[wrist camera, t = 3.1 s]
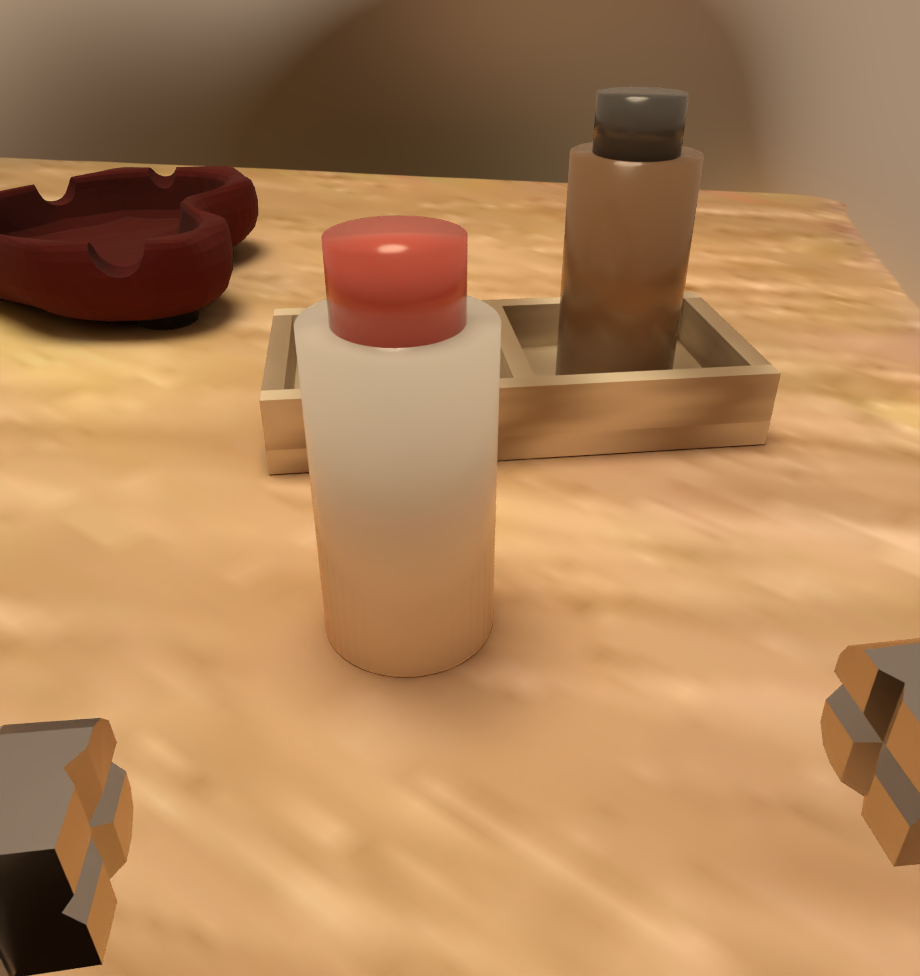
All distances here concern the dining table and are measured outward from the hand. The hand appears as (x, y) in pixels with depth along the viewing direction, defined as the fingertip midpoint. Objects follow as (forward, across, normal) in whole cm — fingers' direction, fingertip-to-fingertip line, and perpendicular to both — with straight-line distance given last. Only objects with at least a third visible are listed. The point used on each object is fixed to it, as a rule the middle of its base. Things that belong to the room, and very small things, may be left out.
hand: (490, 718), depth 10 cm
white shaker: (+12, 0, +9) cm, 15 cm away
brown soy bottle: (+25, -9, +8) cm, 28 cm away
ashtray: (+43, +15, +9) cm, 47 cm away
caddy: (+25, -5, +9) cm, 27 cm away
